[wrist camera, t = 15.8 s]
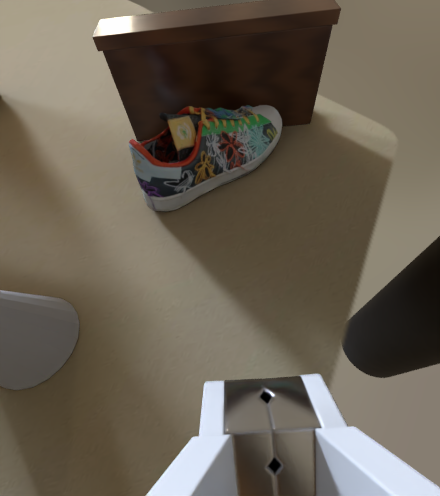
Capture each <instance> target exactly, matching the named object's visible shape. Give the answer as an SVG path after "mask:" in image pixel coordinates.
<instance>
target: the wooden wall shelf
mask: <svg viewBox="0 0 440 496" xmlns="http://www.w3.org/2000/svg"><path fill="white" fill-rule="evenodd" d="M340 11H341V8H340V7H339V5H338V4H337V3H336V1H335V0H263V1H255V2H246V3H239V4H229V5H221V6H212V7H204V8H195V9H187V10H178V11H170V12H161V13H152V14H144V15H135V16H127V17H118V18H110V19H101V20H100V21H99V24H98V26H97V28H96V30H95V33H94V35H93V40H94V42H95V45H96V47H97V50H98V51H103V53H104V56H105V58H106V61H107V64H108V66H109V69H110V71H111V74H112V77H113V79H114V82H115V84H116V87H117V89H118V92H119V95H120V97H121V100H122V102H123V105H124V108H125V110H126V113H127V115H128V118H129V121H130V123H131V126H132V128H133V131H134V134H135V136H136V139H137V141H144V140H150V139H152V138H154V137H156V136H157V135H159V134H161V133H162V132H163V131H164V130H165V129H166V128H168V126H169V124H168V122H165V121H164V120H162V119H160V116H159V115H160V113H162V112H163V113H166V114H177V113H178V112H180V111H181V110H182V109H184V108H186V107H188V106H192V107H193V108H199V107H201V108H204V109H205V108H211V109H213V110H214V109H217V108H223V109H226V110H233V111H234V110H237V109H240V108H241V106H246V105H249V106H251V107H256V106H259V105H269V106H272V107H274V108H275V109H276V110H277V111H278V113H279V114H280V117H281V119H282V126H292V125H301V124H310V122H311V118H312V113H313V109H314V105H315V100H316V96H317V91H318V87H319V83H320V77H321V74H322V69H323V64H324V60H325V56H326V52H327V47H328V43H329V38H330V34H331V30H332V25H333V24H337V23H338V19H339V15H340Z"/></svg>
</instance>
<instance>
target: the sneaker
mask: <svg viewBox="0 0 440 496" xmlns="http://www.w3.org/2000/svg"><path fill="white" fill-rule="evenodd" d="M159 116H160V119H162V120H164V121H165V122H168V124H169V126H168V128H166V129H165V130H164V131H163V132H162V133H161V134H159V135H157V136H156V137H154V138H152V139H150V140H148V141H146V140H145V141H144V142H143V143H141V144H139V143H138V142H136V141H135V140H133V139H131V140H130V141H129V147H130V151H131V154H132V158H133V165H134V171H135V174H136V177H137V179H138V182H139V184H140V188H141V190H142V192H143V196H144V200H145V202H146V203H147V205H148V206H149V207H150V208H151V209H152V210H154V211H171V210H176V209H178V208H180V207H182V206H184V205H186V204H188V203H190V202H191V201H193V200H194V199H195V198H197V197H199V196H201V195H202V194H204V193H206V192H208V191H210V190H212V189H214V188H216V187H218V186H220V185H223V184H226V183H229V182H231V181H234V180H236V179H238V178H240V177H242V176H245V175H247V174H248V173H250V172H251V171H253V170H254V169H255V168H256V167H258V166H259V165H260V164H261V163H262V162H264V160H265V159H266V158H267V157H268V156H269V155H270V154H271V152H272V151H273V149H274V148H275V146H276V144H277V142H278V140H279V138H280V135H281V128H282V119H281V117H280V114H279V113H278V111H277V110H276V109H275V108H274V107H272V106H269V105H259V106H256V107H251V106H249V105H246V106H241V108H240V109H237V110H234V111H233V110H226V109H223V108H217V109H214V110H213V109H211V108H205V109H204V108H201V107H199V108H193V107H192V106H188V107H186V108H184V109H182V110H181V111H180V112H178V113H177V114H166V113H163V112H162V113H160V115H159Z"/></svg>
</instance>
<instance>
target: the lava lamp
mask: <svg viewBox="0 0 440 496" xmlns="http://www.w3.org/2000/svg"><path fill="white" fill-rule="evenodd" d="M79 325H80V324H79V319H78V315H77V312H76V310H75V309H74V308H73V306H72V305H71V304H70V303H69V302H67V301H65V300H63V299H61V298H56V297H48V296H41V295H33V294H26V293H18V292H11V291H3V290H0V386H1V387H3V388H7V389H12V390H21V389H26V388H31V387H34V386H36V385H38V384H40V383H42V382H44V381H46V380H48V379H49V378H50V377H51V376H52V375H53V374H54V373H56V372H57V371H58V370H59V369H60V368H61V367H62V366H63V365H64V363H65V362H66V361H67V359H68V358H69V356H70V355H71V354H72V352H73V349H74V347H75V344H76V342H77V339H78V334H79Z"/></svg>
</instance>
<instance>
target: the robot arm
mask: <svg viewBox="0 0 440 496" xmlns="http://www.w3.org/2000/svg"><path fill="white" fill-rule="evenodd" d="M146 496H440V487H439V486H437V485H436V484H435V483H433V482H432V481H430V480H429V479H427V478H426V477H425V476H423V475H422V474H420V473H419V472H418V471H416V470H415V469H414V468H412V467H411V466H409V465H408V464H407V463H405V462H404V461H402V460H401V459H400V458H398V457H397V456H395V455H394V454H393V453H391V452H390V451H388V450H387V449H386V448H384V447H383V446H382V445H380V444H379V443H377V442H376V441H375V440H373V439H372V438H370V437H369V436H368V435H366V434H365V433H363V432H362V431H361V430H359V429H358V428H356V427H355V426H354V427H348V425H347V424H346V421H345V420H344V418H343V416H342V414H341V412H340V410H339V408H338V406H337V404H336V402H335V400H334V398H333V397H332V395H331V393H330V391H329V389H328V387H327V385H326V383H325V381H324V379H323V377H322V376H321V375H320V374H319V373H318V374H307V375H300V376H291V377H278V378H265V379H242V380H225V382H224V381H207V382H205V384H204V390H203V400H202V410H201V420H200V431H199V436H198V437H192V438H191V440H190V441H189V442H188V443H187V445H186V446H185V447H184V448H183V450H182V451H181V452H180V453H179V455H178V456H177V457H176V458H175V460H174V461H173V462H172V463H171V465H170V466H169V467H168V468H167V470H166V471H165V472H164V473H163V475H162V476H161V477H160V478H159V480H158V481H157V482H156V483H155V485H154V486H153V487H152V489H151V490H150V491H149V492H148V494H147V495H146Z"/></svg>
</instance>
